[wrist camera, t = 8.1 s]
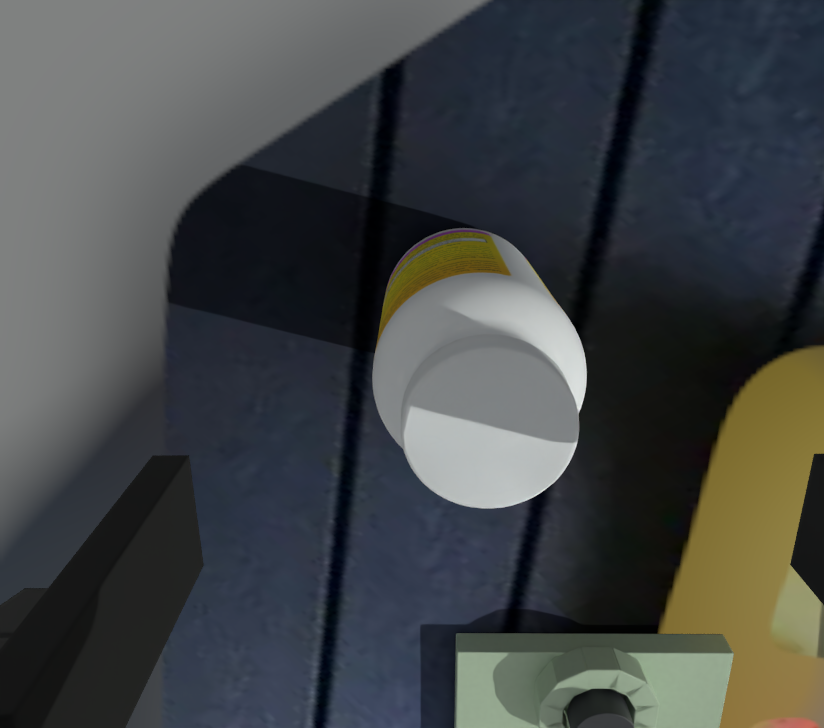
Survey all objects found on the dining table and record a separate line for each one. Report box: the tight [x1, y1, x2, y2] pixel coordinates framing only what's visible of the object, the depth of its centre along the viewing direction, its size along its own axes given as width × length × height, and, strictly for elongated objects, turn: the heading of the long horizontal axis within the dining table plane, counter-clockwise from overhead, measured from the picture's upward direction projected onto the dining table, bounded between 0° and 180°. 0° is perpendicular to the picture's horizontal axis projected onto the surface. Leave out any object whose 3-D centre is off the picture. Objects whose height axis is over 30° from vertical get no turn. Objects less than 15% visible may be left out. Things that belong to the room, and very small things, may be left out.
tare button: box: [567, 689, 635, 728], centre depth 34 cm, size 3×3×2 cm
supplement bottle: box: [372, 228, 587, 508], centre depth 24 cm, size 7×7×13 cm
